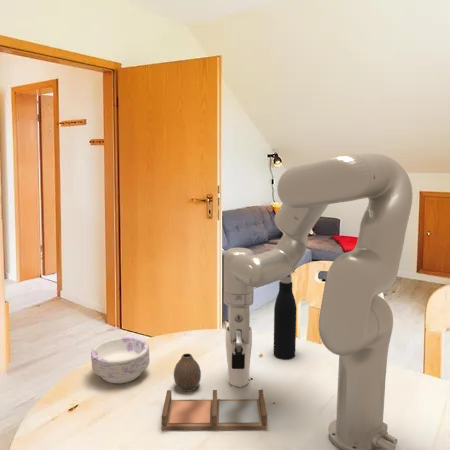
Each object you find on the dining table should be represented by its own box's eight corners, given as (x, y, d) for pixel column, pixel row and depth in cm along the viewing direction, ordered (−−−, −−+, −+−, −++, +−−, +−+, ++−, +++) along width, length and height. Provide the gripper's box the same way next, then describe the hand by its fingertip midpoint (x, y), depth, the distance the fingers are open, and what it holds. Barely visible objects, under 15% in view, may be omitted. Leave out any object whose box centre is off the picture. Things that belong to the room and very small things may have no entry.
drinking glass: (252, 376, 131) (252, 323, 128) (251, 389, 124) (251, 334, 121) (227, 375, 131) (226, 323, 129) (224, 388, 125) (224, 333, 122)
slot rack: (262, 402, 118) (262, 389, 117) (266, 429, 107) (266, 415, 106) (167, 403, 118) (167, 390, 117) (161, 430, 107) (161, 416, 106)
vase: (170, 384, 127) (169, 352, 125) (195, 378, 130) (194, 347, 128) (179, 396, 121) (178, 363, 119) (205, 390, 124) (204, 358, 122)
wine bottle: (270, 351, 146) (271, 254, 140) (289, 348, 148) (291, 252, 142) (278, 360, 140) (280, 259, 134) (299, 357, 142) (301, 257, 136)
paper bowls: (80, 381, 129) (78, 353, 127) (118, 358, 142) (116, 332, 140) (125, 395, 122) (124, 365, 120) (161, 369, 135) (160, 342, 133)
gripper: (255, 309, 115) (254, 376, 118) (251, 286, 132) (250, 345, 135) (223, 308, 115) (223, 375, 118) (223, 285, 132) (223, 345, 135)
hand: (237, 359), depth 127 cm, fingers open, 9 cm apart
